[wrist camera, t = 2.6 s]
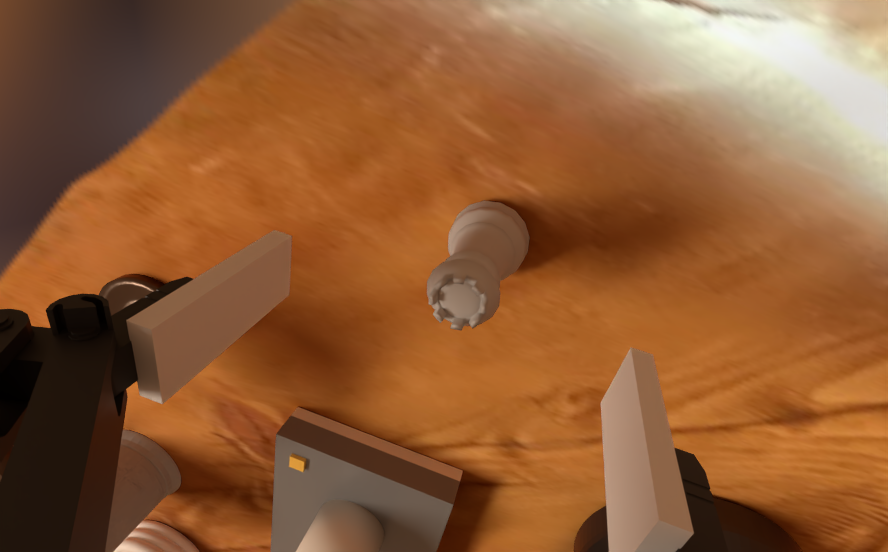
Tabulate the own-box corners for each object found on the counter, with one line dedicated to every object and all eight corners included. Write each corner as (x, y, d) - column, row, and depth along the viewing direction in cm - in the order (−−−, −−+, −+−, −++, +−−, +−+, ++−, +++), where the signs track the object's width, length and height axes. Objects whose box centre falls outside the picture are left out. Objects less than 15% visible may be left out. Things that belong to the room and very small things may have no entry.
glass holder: (165, 504, 49) (15, 667, 36) (56, 422, 47) (-141, 561, 34) (192, 471, 45) (33, 643, 32) (74, 380, 43) (-144, 520, 30)
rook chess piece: (444, 258, 27) (398, 328, 20) (463, 187, 25) (417, 239, 18) (516, 282, 26) (494, 363, 19) (541, 212, 24) (526, 275, 17)
